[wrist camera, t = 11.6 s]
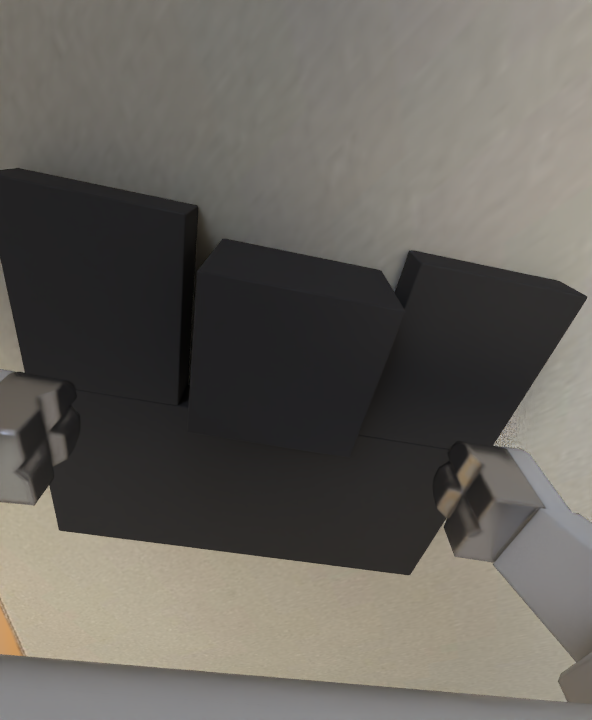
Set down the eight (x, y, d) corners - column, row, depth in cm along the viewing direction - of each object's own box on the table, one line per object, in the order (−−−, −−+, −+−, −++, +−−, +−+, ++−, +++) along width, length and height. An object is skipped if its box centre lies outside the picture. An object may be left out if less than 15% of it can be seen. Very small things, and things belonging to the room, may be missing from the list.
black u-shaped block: (74, 504, 19) (58, 531, 18) (17, 167, 11) (-20, 171, 10) (403, 549, 21) (410, 575, 20) (560, 280, 13) (589, 296, 12)
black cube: (209, 374, 15) (186, 433, 12) (222, 237, 12) (196, 270, 9) (340, 396, 16) (350, 458, 13) (381, 270, 13) (406, 311, 10)
